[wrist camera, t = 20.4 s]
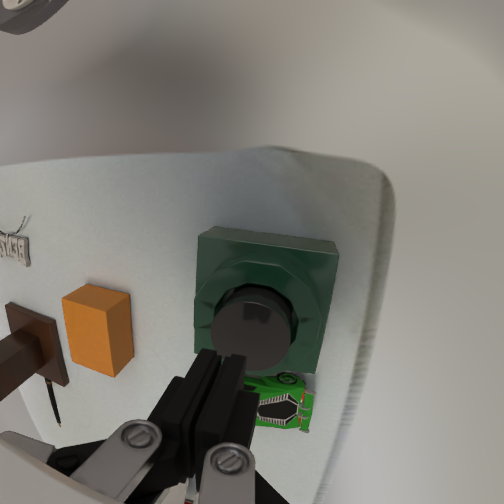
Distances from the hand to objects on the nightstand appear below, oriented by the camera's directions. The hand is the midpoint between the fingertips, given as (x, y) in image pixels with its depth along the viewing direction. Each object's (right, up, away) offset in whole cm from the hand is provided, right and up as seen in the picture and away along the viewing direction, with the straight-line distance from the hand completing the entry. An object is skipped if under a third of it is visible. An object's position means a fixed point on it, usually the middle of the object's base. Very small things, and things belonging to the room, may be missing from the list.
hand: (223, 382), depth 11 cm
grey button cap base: (+2, +2, +10) cm, 11 cm away
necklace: (-23, +6, +14) cm, 27 cm away
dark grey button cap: (+1, +1, +6) cm, 6 cm away
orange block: (-11, -1, +14) cm, 17 cm away
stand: (-22, -5, +17) cm, 28 cm away
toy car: (+1, -6, +13) cm, 14 cm away
